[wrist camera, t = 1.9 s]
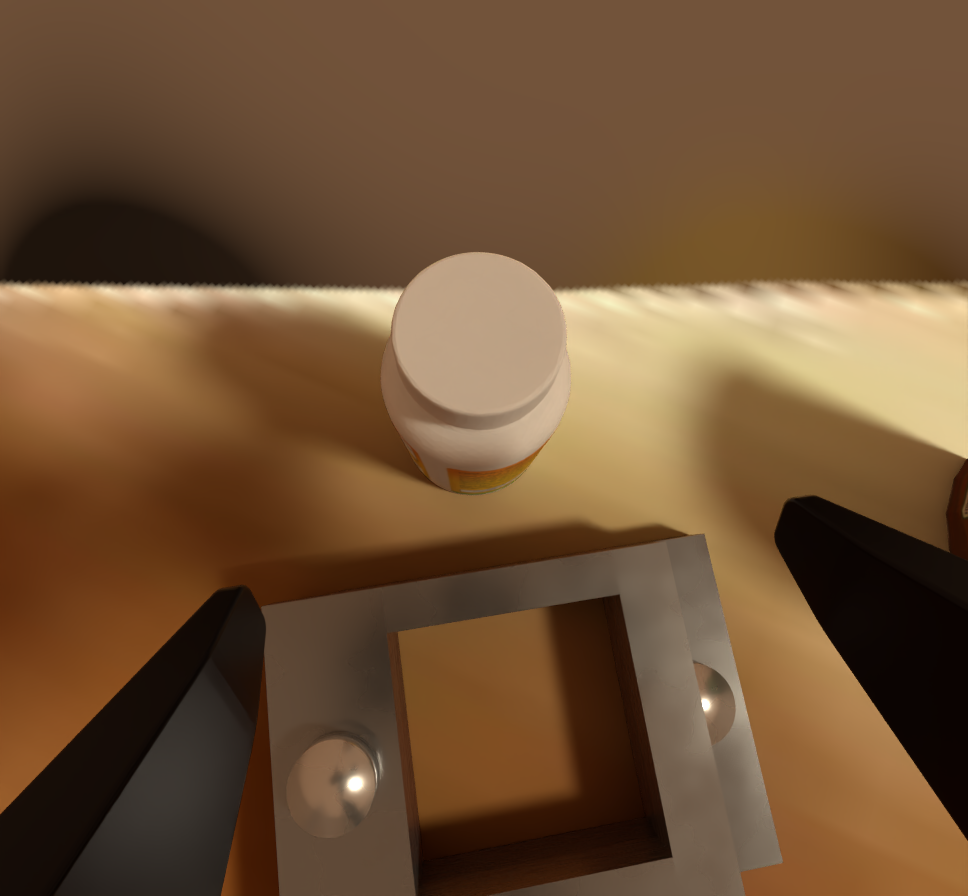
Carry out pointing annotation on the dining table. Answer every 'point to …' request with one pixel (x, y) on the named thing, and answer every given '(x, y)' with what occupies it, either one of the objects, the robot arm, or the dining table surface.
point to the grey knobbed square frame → (545, 861)
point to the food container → (958, 514)
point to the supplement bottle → (476, 370)
